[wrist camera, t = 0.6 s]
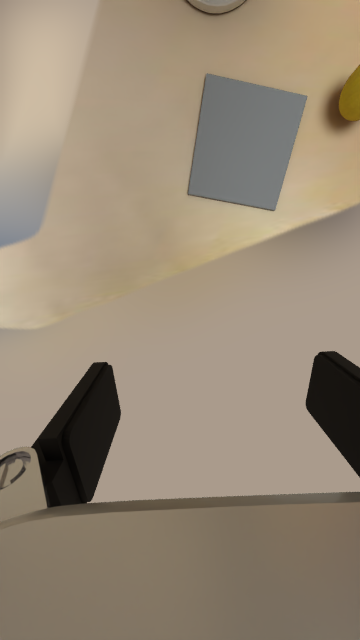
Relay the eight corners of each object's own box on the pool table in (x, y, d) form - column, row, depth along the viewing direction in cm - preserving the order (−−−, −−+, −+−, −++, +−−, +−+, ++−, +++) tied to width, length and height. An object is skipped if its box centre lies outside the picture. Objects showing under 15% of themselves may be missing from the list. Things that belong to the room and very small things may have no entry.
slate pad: (205, 77, 28) (206, 73, 27) (304, 99, 28) (307, 96, 28) (187, 194, 32) (187, 193, 32) (273, 210, 33) (275, 210, 32)
